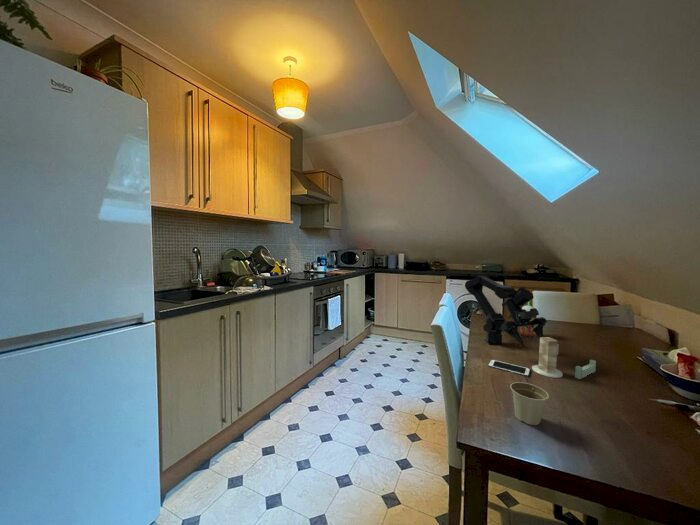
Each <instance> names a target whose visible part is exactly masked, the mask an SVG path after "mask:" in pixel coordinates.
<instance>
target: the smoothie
mask: <svg viewBox="0 0 700 525" xmlns="http://www.w3.org/2000/svg"><path fill="white" fill-rule="evenodd" d="M521 307H522V309H525V310H526V311H530V309H533V308H534V306H531V305H530V301H529V302H528V303H527V305H526V304H525V305H523V306H521ZM536 318H538V315H536ZM534 319H535V318H532V319H531V320H529V321H532V320H534ZM519 333H520V335H521V334H522V335H521V336H523V335H524V336H523V337H527V336H530V337H529V338H532V336H533V337H534V335H535V334H536V333H535V332H534V331H533V327H532V326H523V327H519Z"/></svg>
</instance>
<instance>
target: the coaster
mask: <svg viewBox="0 0 700 525" xmlns="http://www.w3.org/2000/svg"><path fill="white" fill-rule="evenodd" d="M538 366H539V364H535V365H532V366H531V370H532V371H533V372H534V373H535V374H538V375H541V376H543V377H546V378H551V379H552V378H553V379H560V378H562V377H563V375H564V374H563V371H561V370H559V369H557V368H556V373H546V372H544V371H542V370H540V369H539V368H538Z"/></svg>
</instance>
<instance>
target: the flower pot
mask: <svg viewBox="0 0 700 525" xmlns="http://www.w3.org/2000/svg"><path fill="white" fill-rule="evenodd" d="M509 388H510V390H511V393H512V399H513V407H514V415H515V417H516V418H517V419H518V420H519V421H520V422H524V423H525V424H526V425H531V426H537V425H539V424H540V423H541V420H542V417H543V413H544V408H545V405H546V403H547V400H549V398H550V396H549V395H550V394H549V393H548V392H547V391H546V390H545V389H543V388H541V387H540V386H537V385H535V384H532V383H528V382H523V381H522V382H521V381H520V382H519V381H516V382H513V383H511V384H510V385H509Z"/></svg>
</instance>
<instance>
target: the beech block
mask: <svg viewBox="0 0 700 525" xmlns="http://www.w3.org/2000/svg"><path fill="white" fill-rule="evenodd" d="M557 344H559V342H558V340H557V339H554V338H552V337H549V336H547V337H546V336H545V337H540V339H539V348H538V350H539V352H538V353H539V354H538V365H539V366H538V368H539V369H540V370H542V371H544V372H546V373H556V369H557V360H558V359H557V356H558V355H557Z"/></svg>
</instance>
